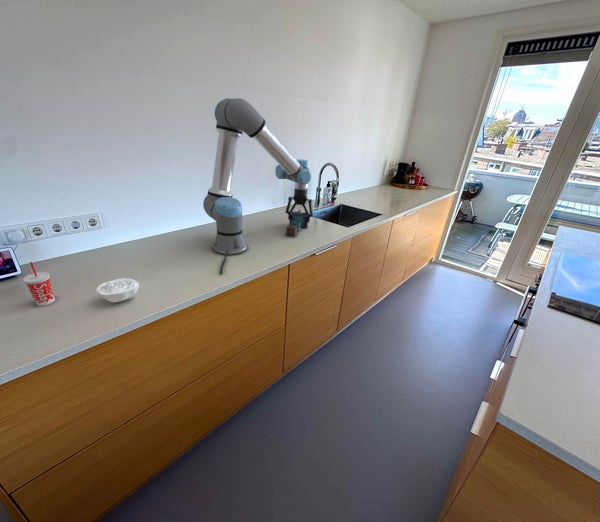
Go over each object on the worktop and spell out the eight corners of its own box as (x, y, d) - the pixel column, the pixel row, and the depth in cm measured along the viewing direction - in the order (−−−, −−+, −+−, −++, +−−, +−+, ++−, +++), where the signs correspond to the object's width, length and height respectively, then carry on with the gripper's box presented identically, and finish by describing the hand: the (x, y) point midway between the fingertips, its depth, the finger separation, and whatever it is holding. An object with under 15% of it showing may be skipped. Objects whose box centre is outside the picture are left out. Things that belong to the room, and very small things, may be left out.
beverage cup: (30, 308, 88) (13, 268, 82) (37, 297, 93) (21, 259, 87) (55, 305, 90) (40, 265, 84) (60, 294, 95) (47, 256, 89)
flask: (306, 226, 174) (307, 209, 169) (306, 228, 171) (307, 210, 167) (291, 225, 174) (291, 208, 169) (290, 227, 171) (291, 209, 167)
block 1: (298, 232, 163) (298, 224, 161) (289, 231, 164) (290, 223, 162) (300, 230, 168) (300, 221, 166) (292, 228, 169) (292, 220, 167)
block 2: (294, 237, 157) (295, 228, 155) (285, 235, 158) (286, 227, 156) (297, 234, 161) (297, 225, 159) (288, 232, 162) (289, 224, 160)
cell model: (138, 305, 93) (134, 287, 90) (95, 309, 89) (89, 291, 86) (144, 289, 101) (140, 272, 98) (105, 292, 98) (100, 275, 95)
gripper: (320, 189, 164) (317, 226, 174) (284, 185, 168) (283, 221, 178) (318, 192, 157) (314, 230, 167) (280, 187, 161) (279, 225, 171)
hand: (298, 226), depth 172 cm, fingers closed on flask, 9 cm apart
